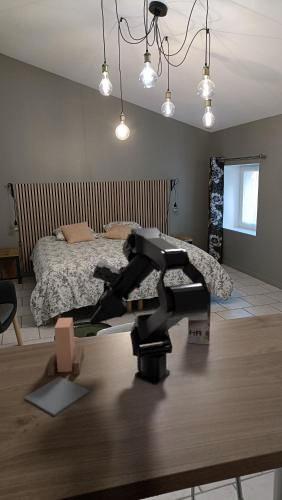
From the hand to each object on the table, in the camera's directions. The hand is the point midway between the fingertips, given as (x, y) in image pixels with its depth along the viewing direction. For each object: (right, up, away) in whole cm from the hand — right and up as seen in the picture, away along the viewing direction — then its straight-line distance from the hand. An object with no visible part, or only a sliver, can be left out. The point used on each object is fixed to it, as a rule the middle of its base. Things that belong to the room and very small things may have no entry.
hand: (92, 316), depth 88 cm
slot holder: (-7, -13, +2) cm, 15 cm away
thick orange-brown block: (-7, -13, +2) cm, 15 cm away
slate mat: (-7, -16, -10) cm, 20 cm away
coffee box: (+30, -10, +17) cm, 36 cm away
